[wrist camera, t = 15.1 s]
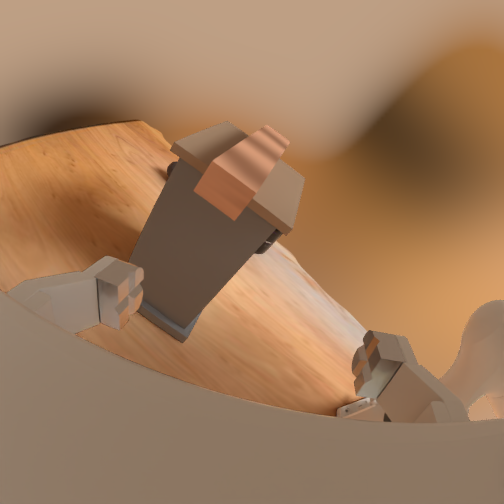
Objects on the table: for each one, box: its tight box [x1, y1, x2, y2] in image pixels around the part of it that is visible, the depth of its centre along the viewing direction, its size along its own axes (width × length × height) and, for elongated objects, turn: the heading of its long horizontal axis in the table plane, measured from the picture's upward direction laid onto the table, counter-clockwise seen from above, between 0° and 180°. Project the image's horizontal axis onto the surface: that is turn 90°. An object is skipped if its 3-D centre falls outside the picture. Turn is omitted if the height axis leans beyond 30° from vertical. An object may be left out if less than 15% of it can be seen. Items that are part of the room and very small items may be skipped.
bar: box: [193, 125, 290, 221], centre depth 30 cm, size 21×4×3 cm, turn 163°
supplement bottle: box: [255, 229, 283, 254], centre depth 67 cm, size 7×7×12 cm
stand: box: [128, 121, 305, 343], centre depth 40 cm, size 16×14×26 cm
